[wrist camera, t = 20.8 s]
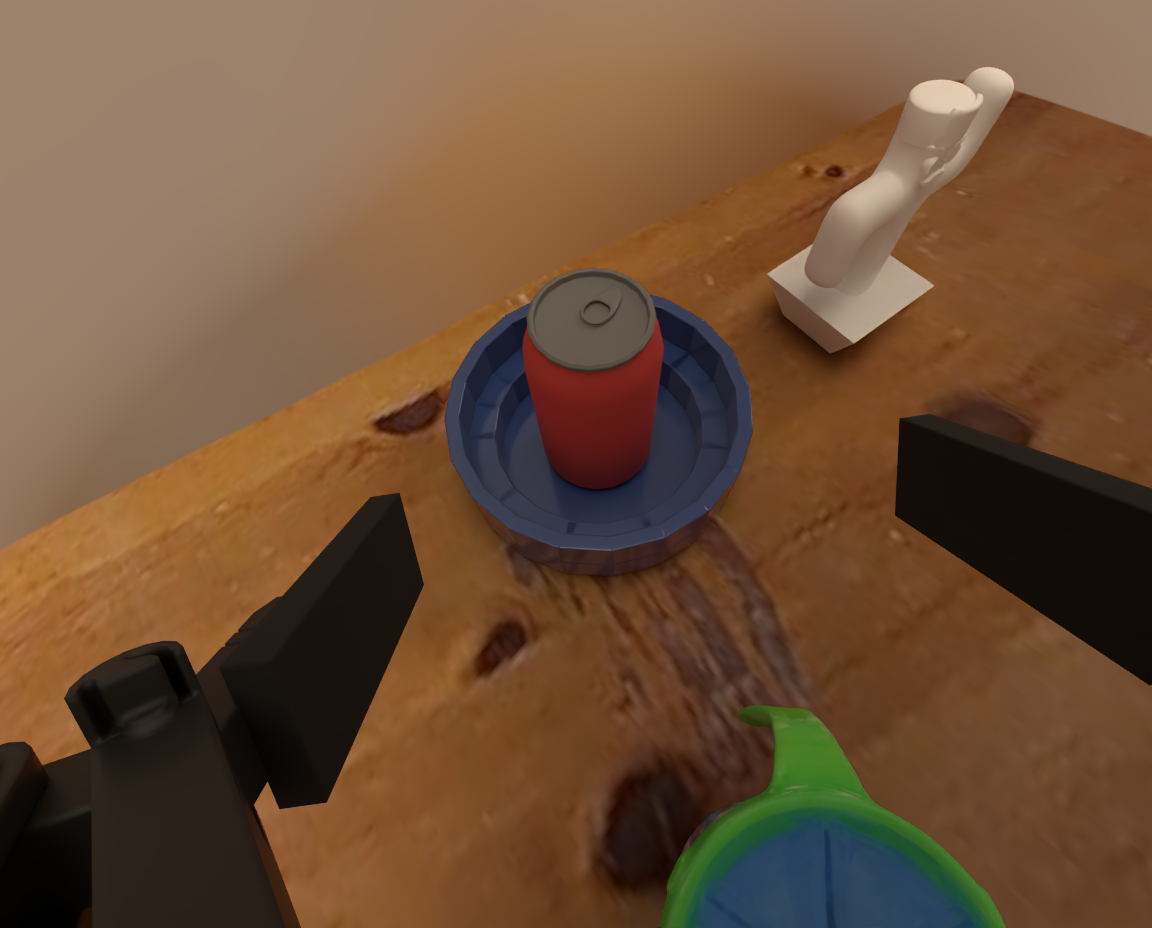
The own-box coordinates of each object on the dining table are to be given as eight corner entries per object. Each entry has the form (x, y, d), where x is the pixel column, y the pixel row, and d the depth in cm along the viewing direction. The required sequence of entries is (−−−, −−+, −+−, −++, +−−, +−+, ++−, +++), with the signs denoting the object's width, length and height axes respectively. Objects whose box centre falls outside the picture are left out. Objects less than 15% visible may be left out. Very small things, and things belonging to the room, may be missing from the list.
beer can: (671, 435, 34) (699, 300, 23) (607, 514, 32) (605, 406, 21) (589, 383, 36) (579, 237, 25) (524, 454, 34) (482, 328, 23)
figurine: (741, 320, 38) (813, 98, 24) (835, 257, 40) (950, 21, 26) (819, 387, 35) (948, 179, 22) (916, 316, 37) (1089, 85, 24)
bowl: (782, 431, 34) (812, 381, 29) (619, 639, 29) (620, 623, 24) (583, 307, 39) (579, 247, 34) (416, 466, 34) (384, 423, 30)
